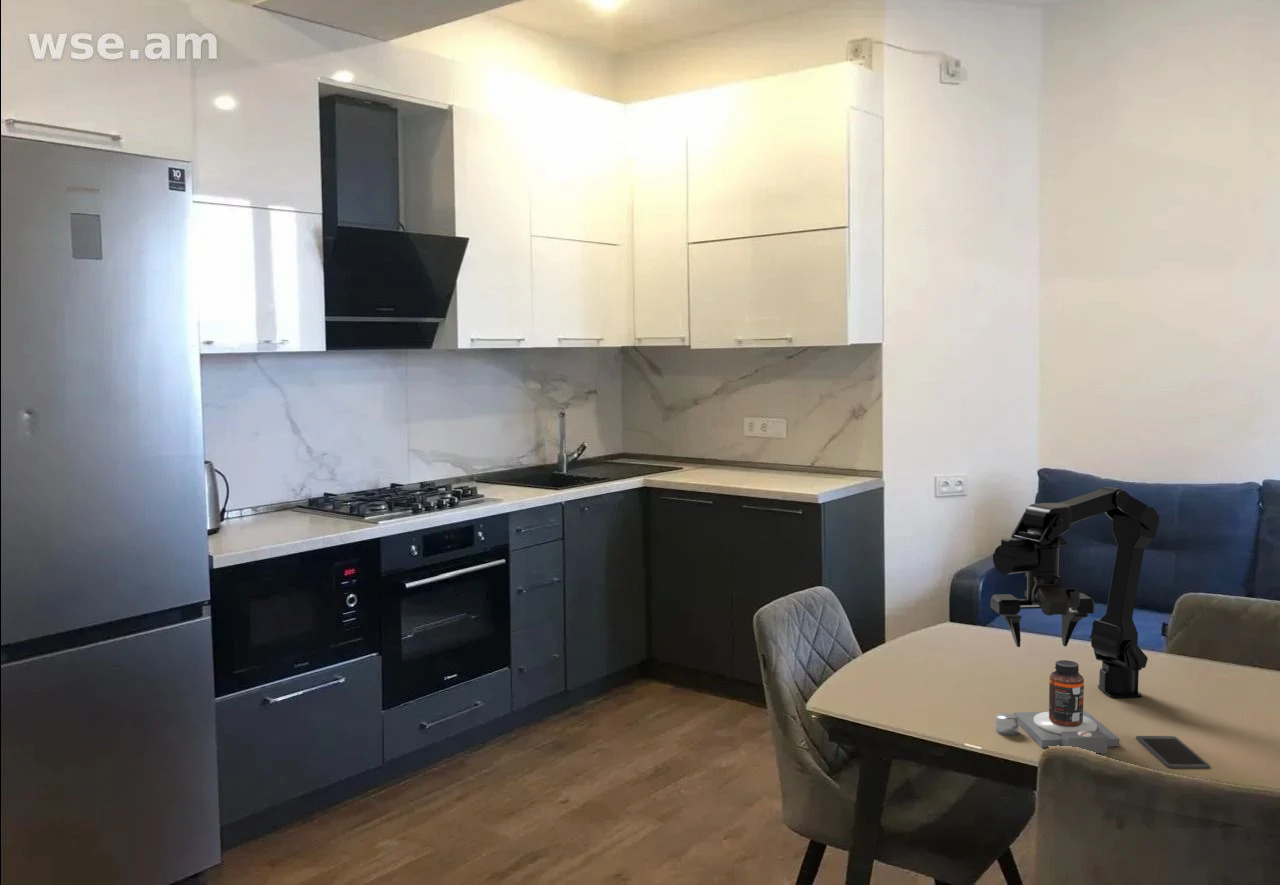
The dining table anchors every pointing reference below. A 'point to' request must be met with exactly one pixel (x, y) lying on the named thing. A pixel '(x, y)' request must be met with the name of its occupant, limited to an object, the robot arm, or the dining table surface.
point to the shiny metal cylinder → (1007, 724)
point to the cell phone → (1172, 752)
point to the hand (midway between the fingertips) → (1041, 646)
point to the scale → (1068, 732)
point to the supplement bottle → (1066, 694)
